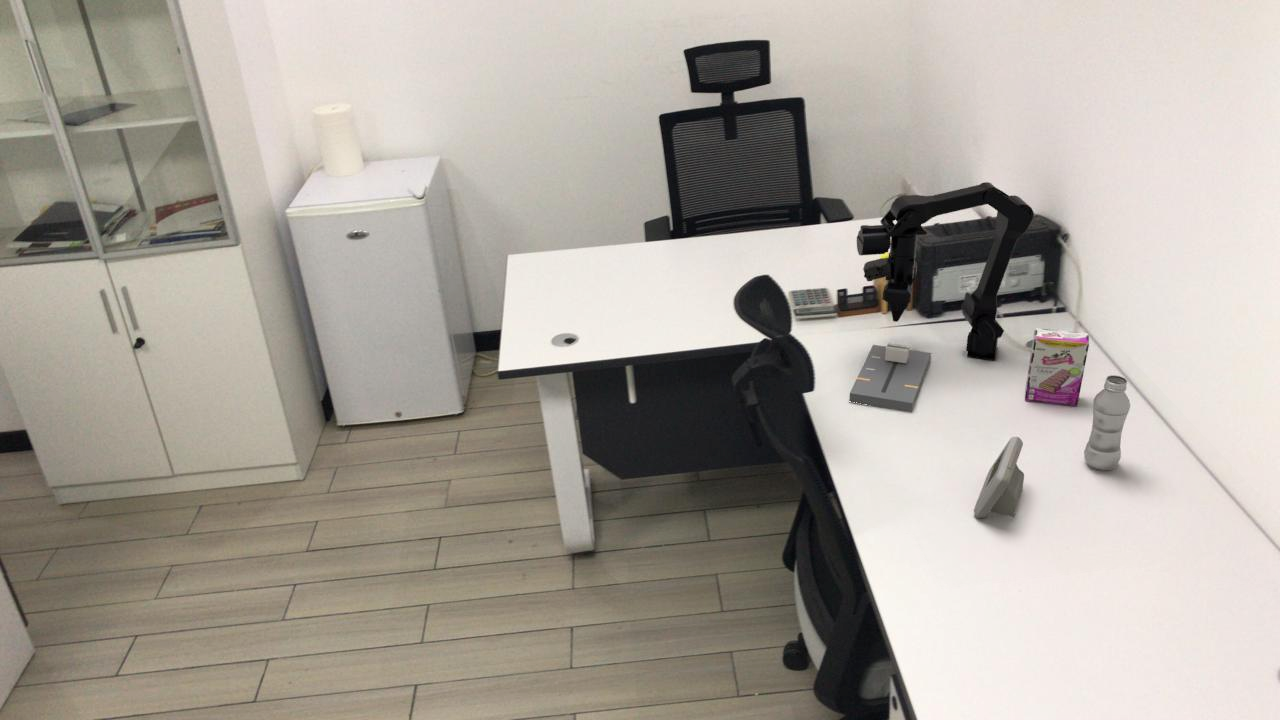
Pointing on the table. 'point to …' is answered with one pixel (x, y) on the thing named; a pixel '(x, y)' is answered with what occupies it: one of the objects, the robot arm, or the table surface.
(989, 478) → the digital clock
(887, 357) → the fader knob
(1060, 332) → the candy bar box
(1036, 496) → the table surface
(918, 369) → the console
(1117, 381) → the plastic bottle
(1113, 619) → the table surface
